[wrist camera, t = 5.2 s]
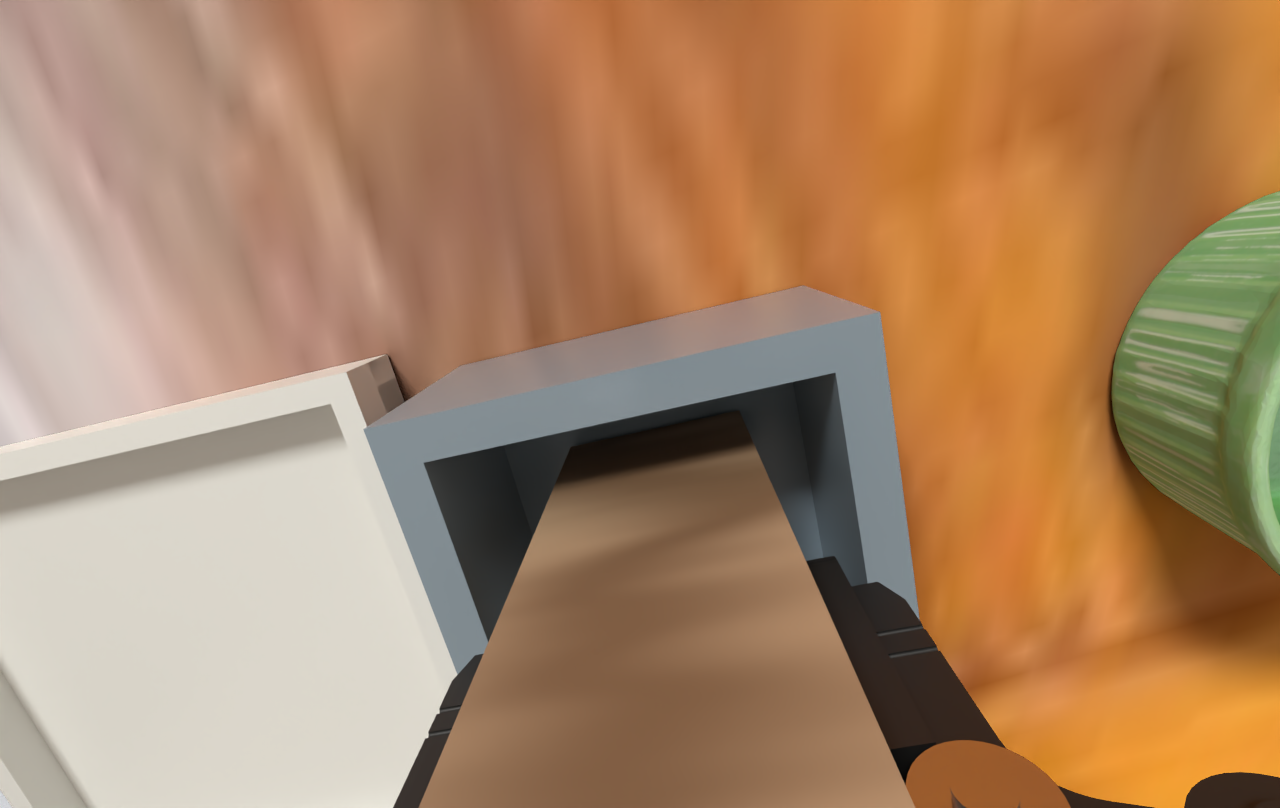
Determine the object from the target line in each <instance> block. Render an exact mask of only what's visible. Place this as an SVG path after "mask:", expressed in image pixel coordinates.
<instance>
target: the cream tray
mask: <svg viewBox="0 0 1280 808" xmlns="http://www.w3.org/2000/svg"><path fill="white" fill-rule="evenodd" d="M403 403H404V399H403V397H402V394H401V391H400V388H399V385H398V383H397V380H396V377H395V374H394V372H393V369H392V366H391V363H390V360H389V358H388V355H387V354H386V355H382V356H377V357H373V358H369V359H365V360H361V361H356V362H352V363H348V364H344V365H340V366H336V367H331V368H327V369H323V370H319V371H315V372H310V373H306V374H302V375H298V376H294V377H290V378H285V379H281V380H277V381H273V382H269V383H264V384H260V385H256V386H252V387H248V388H243V389H239V390H235V391H231V392H227V393H223V394H218V395H214V396H210V397H206V398H202V399H197V400H193V401H189V402H185V403H181V404H177V405H172V406H168V407H164V408H160V409H156V410H151V411H147V412H143V413H139V414H135V415H131V416H126V417H122V418H118V419H114V420H110V421H105V422H101V423H97V424H93V425H89V426H85V427H80V428H76V429H72V430H68V431H64V432H59V433H55V434H51V435H47V436H43V437H39V438H34V439H30V440H26V441H22V442H18V443H13V444H9V445H5V446H1V447H0V790H1V792H2V793H3V794H4V796H5V797H6V799H7V800H8V802H9V803H10V805H11V806H12V808H393V807H394V804H395V802H396V800H397V798H398V796H399V794H400V792H401V789H402V787H403V785H404V783H405V781H406V779H407V777H408V774H409V772H410V770H411V768H412V766H413V764H414V762H415V759H416V757H417V755H418V753H419V751H420V749H421V747H422V744H423V742H424V740H425V738H428V736H429V734H428V731H429V729H430V727H431V725H432V723H433V721H434V719H435V716H436V714H439V713H440V710H439V708H440V706H441V704H442V701H443V699H444V697H445V695H446V693H447V691H448V689H449V686H450V684H451V682H452V680H453V679H454V678H455V677H456V676H457V672H456V670H455V667H454V664H453V662H452V659H451V657H450V654H449V651H448V649H447V646H446V644H445V641H444V638H443V636H442V633H441V631H440V628H439V625H438V623H437V620H436V618H435V615H434V612H433V610H432V607H431V604H430V602H429V599H428V597H427V594H426V591H425V589H424V586H423V584H422V581H421V578H420V576H419V573H418V571H417V568H416V565H415V563H414V560H413V558H412V555H411V552H410V550H409V547H408V545H407V542H406V539H405V537H404V534H403V532H402V529H401V526H400V524H399V521H398V519H397V516H396V513H395V511H394V508H393V506H392V503H391V500H390V498H389V495H388V493H387V490H386V487H385V485H384V482H383V480H382V477H381V474H380V472H379V469H378V467H377V464H376V461H375V459H374V456H373V453H372V451H371V448H370V446H369V443H368V440H367V438H366V435H365V433H364V430H363V429H364V428H366V427H367V426H369V425H371V424H372V423H374V422H375V421H377V420H378V419H380V418H381V417H383V416H384V415H386V414H387V413H389V412H390V411H392V410H393V409H395V408H397V407H398V406H400V405H401V404H403Z"/></svg>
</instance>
